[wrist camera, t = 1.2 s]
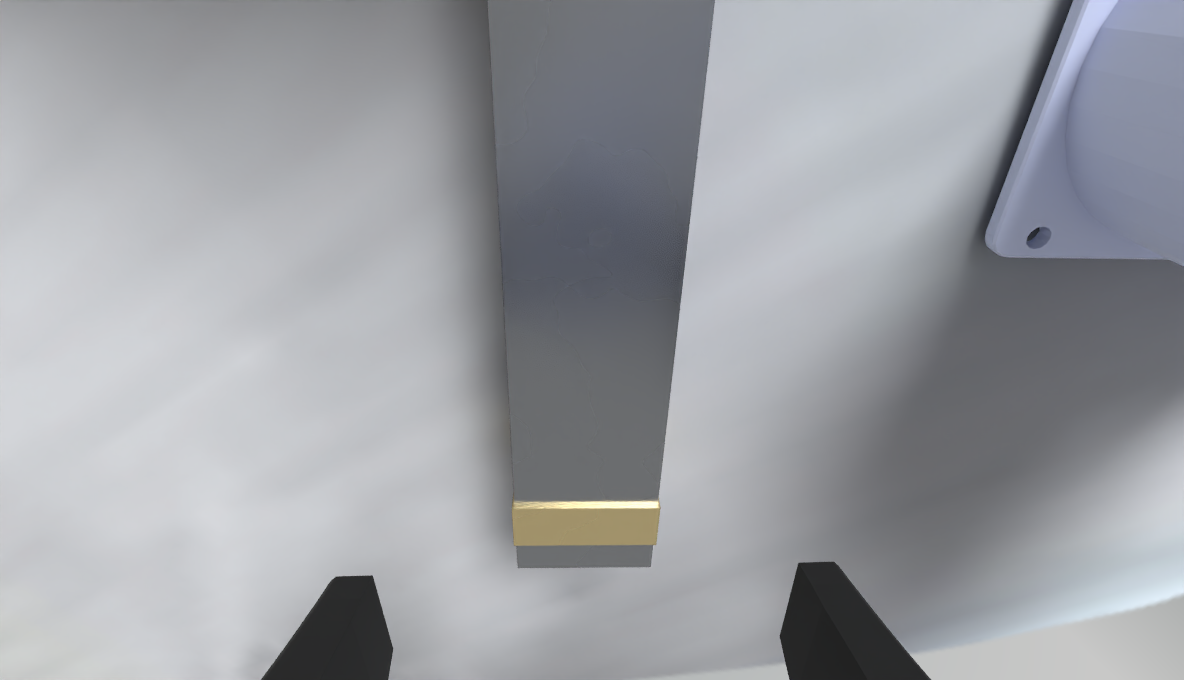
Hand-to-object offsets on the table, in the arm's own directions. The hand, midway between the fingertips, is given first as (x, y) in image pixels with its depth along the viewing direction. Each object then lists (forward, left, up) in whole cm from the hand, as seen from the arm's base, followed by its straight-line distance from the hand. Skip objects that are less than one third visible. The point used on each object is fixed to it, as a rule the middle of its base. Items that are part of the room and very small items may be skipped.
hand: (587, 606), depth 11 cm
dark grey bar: (0, -5, -7) cm, 8 cm away
